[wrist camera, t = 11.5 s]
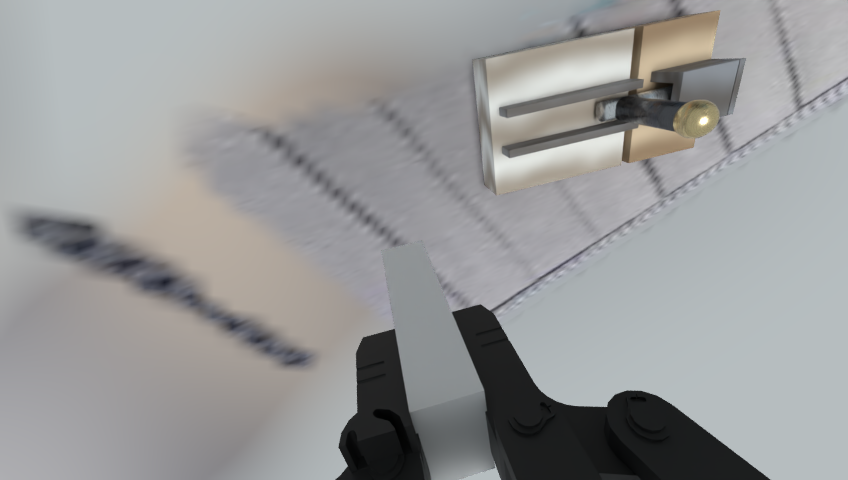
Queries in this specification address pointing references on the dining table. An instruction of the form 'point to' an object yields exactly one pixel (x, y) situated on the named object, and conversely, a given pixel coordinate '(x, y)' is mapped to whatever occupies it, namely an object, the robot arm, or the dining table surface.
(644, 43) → the door and jamb
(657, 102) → the bolt
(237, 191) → the dining table surface
